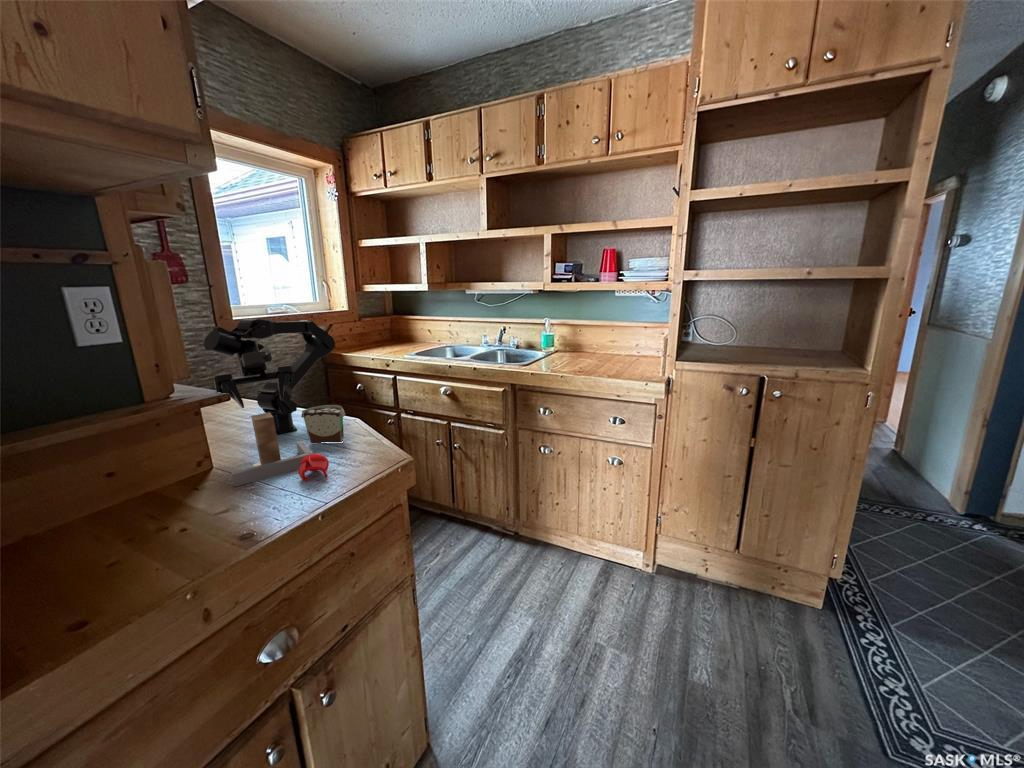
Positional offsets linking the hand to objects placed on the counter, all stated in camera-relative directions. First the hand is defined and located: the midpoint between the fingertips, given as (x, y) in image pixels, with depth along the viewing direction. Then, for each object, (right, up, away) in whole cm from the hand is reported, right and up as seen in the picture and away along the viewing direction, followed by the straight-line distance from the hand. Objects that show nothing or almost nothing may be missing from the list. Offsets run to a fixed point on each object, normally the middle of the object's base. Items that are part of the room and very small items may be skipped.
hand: (263, 403), depth 111 cm
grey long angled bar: (+7, -15, -8) cm, 19 cm away
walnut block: (+7, -15, -8) cm, 18 cm away
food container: (+14, -11, +10) cm, 21 cm away
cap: (+21, -17, -14) cm, 30 cm away
